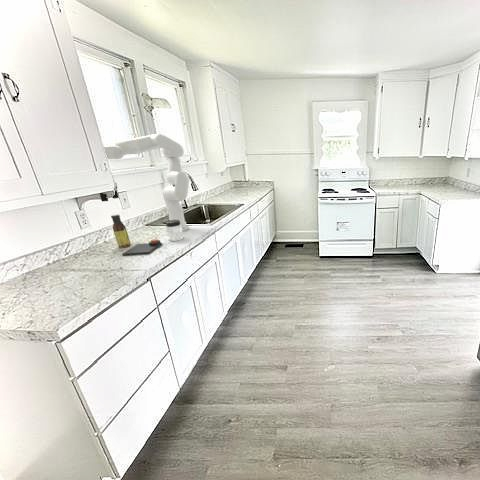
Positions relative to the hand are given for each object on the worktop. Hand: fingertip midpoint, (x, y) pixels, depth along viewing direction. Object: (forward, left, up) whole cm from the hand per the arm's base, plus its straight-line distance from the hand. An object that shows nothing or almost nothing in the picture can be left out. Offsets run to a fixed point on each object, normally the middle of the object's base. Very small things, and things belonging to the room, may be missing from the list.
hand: (110, 199), depth 151 cm
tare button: (+3, +20, -27) cm, 33 cm away
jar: (-9, +27, -29) cm, 41 cm away
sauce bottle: (0, 0, -29) cm, 29 cm away
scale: (+9, +15, -29) cm, 34 cm away
